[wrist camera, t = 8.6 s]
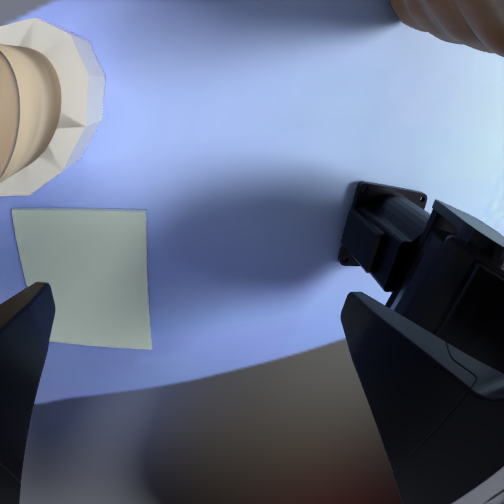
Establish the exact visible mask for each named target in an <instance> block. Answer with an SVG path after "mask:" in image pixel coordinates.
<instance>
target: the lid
mask: <svg viewBox="0 0 504 504" xmlns="http://www.w3.org/2000/svg"><path fill="white" fill-rule="evenodd" d="M61 104H62V103H61V86H60V82H59V78H58V75H57V73H56V70H55V69H54V67H53V65H52V64H51V62H50V61H49V60H48V59H47V58H46V57H45V56H44V55H43V54H42V53H40V52H39V51H37V50H34V49H31V48H27V47H20V46H13V45H4V44H0V183H1V182H3V181H4V180H6V179H7V178H9V177H11V176H12V175H14V174H15V173H17V172H18V171H20V170H22V169H23V168H25V167H27V166H28V165H30V164H31V163H33V162H34V161H35V160H36V159H37V158H39V157H40V155H41V154H42V153H43V152H44V151H45V149H46V148H47V147H48V145H49V143H50V142H51V140H52V138H53V136H54V133H55V131H56V129H57V125H58V122H59V118H60V113H61Z"/></svg>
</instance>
